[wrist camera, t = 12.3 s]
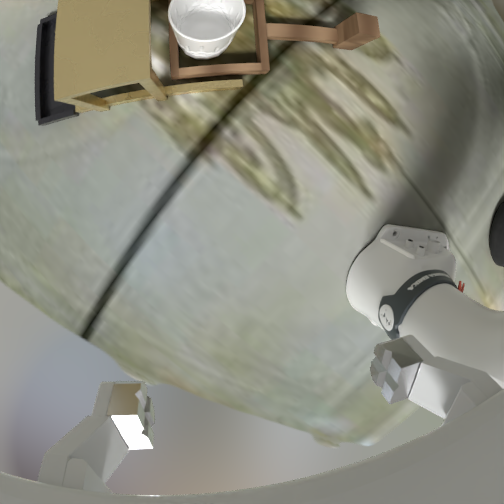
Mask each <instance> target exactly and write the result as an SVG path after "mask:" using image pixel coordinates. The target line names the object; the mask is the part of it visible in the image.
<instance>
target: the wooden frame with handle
mask: <svg viewBox="0 0 504 504" xmlns="http://www.w3.org/2000/svg"><path fill="white" fill-rule="evenodd" d="M171 1H172V0H168V3H169V5H170V2H171ZM244 3H245V4H252V6H253V18H254V30H255V42H256V55H257V63H237V64H219V65H206V66H195V67H185V68H180V66H179V45H178V42H177V40H176V37H175V35H174V32H173V29H172V27H171V24H170V22H169V49H170V71H171V78H172V81H173V80H181V79H190V78H200V77H211V76H225V75H245V74H266V73H267V72H268V71H269V70H270V67H269V55H268V43H267V40H294V41H309V42H321V43H330V44H333V48H339V49H347V50H353V49H355V48H357V47H359V46H361V45H364V44H366V43H368V42H370V41H372V40H375V39H377V38H379V37H380V31H379V25H378V19H377V17H376V16H372V15H367V14H362V13H357V12H356V13H355V14H353V15H352V16H350V17H349V18H347V19H346V20H344V21H343V22H341V23H340V24H338V25H337V26H336V27H334V28H327V27H318V26H307V25H295V24H276V23H266V20H265V10H264V0H244Z"/></svg>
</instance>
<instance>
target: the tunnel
mask: <svg viewBox="0 0 504 504" xmlns="http://www.w3.org/2000/svg"><path fill="white" fill-rule="evenodd" d="M151 1H157V0H59V1H58V9H57V13H56V14H54V15H51V16H48V17H46V18H43V19H41V20H40V24H39V25H38V28H37V39H36V55H35V112H36V120H37V121H38V123H39V125H48V124H51V123H54V122H58V121H61V120H65V119H68V118H72V117H76V116H78V113H83V112H87V111H91V110H96V111H100V112H102V111H107V110H110V108H109V106H113V105H118V104H123V103H129V102H134V101H140V100H146V99H152V98H155V99H156V100H157V101H163V100H167V96H172V95H180V94H189V93H198V92H209V91H221V90H237V89H241V88H242V87H243V81H242V79H239V80H222V81H209V82H198V83H188V84H180V85H172V86H165V87H164V86H163V85H162V83H161V82H160V80H159V79H158V77H157V75H156V74H155V72H154V71H153V69H152V64H151ZM135 83H140V84H141V85H142V86H143V87H144V88H145V90H139V91H134V92H129V93H123V94H118V95H114V96H109V97H105V98H99V97H97V96H94V95H92V94H89V93H93V92H97V91H101V90H106V89H110V88H115V87H119V86H124V85H129V84H135Z"/></svg>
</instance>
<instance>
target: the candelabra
mask: <svg viewBox="0 0 504 504" xmlns="http://www.w3.org/2000/svg"><path fill="white" fill-rule="evenodd" d="M490 250H491V256H492V258H493V260H494V262H495V263H496V264H497V265H499V266H503V267H504V202H503V203H502V205H501V206H500V207H499V209H498V211H497V213H496V215H495V217H494V221H493V223H492V226H491V233H490Z"/></svg>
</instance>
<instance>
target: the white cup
mask: <svg viewBox="0 0 504 504" xmlns="http://www.w3.org/2000/svg"><path fill="white" fill-rule="evenodd" d="M245 14H246V7H245V3H244V0H172V1H171V2H170V5H169V8H168V18H169V22H170V24H171V27H172V29H173V32H174V35H175V37H176V40H177V42H178V43H179V46H180V47H181V49H182V50H183V51H184V53H185V54H186V55H188V56H190V57H192V58H194V59H201V60H208V59H211V58H214V57H218V56H219V55H220V54H221V53H223V52H224V51H225V50H226V49H227V47H228V45H229V44H230V43H231V41H232V40H233V38H234V37H235V35H236V33H237V31H238V29H239V28H240V26H241V24H242V22H243V20H244V18H245Z"/></svg>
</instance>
